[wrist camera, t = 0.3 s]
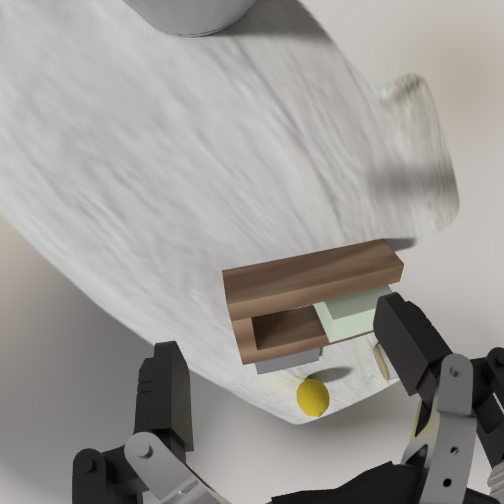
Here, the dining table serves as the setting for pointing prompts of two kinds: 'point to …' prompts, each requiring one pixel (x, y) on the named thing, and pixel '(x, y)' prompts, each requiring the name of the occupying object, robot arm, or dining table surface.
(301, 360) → the slate coaster
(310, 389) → the lemon
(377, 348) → the ceramic mug
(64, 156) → the dining table surface
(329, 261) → the rail
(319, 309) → the sage block
